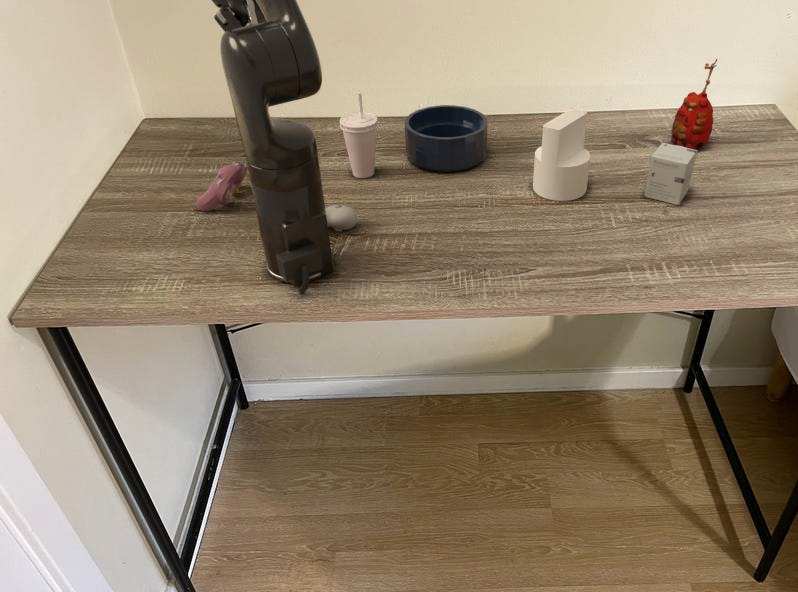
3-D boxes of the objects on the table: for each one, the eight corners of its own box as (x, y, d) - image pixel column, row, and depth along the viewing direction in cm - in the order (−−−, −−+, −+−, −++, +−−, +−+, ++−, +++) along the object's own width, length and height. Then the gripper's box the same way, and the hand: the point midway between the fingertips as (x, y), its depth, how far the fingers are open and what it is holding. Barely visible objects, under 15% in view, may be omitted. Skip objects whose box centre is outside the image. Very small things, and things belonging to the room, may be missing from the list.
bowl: (502, 160, 136) (504, 125, 132) (436, 182, 130) (435, 146, 125) (456, 132, 145) (456, 99, 141) (391, 152, 139) (389, 117, 134)
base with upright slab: (568, 206, 123) (575, 135, 115) (522, 190, 127) (526, 121, 120) (596, 185, 129) (604, 116, 121) (551, 170, 133) (556, 103, 125)
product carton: (643, 197, 125) (650, 155, 121) (654, 182, 130) (661, 141, 125) (679, 206, 123) (688, 163, 119) (689, 190, 127) (698, 148, 123)
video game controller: (219, 223, 122) (229, 189, 118) (192, 209, 122) (202, 175, 117) (244, 194, 130) (255, 161, 125) (220, 180, 129) (230, 147, 124)
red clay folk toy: (661, 138, 143) (675, 57, 133) (692, 132, 145) (708, 51, 135) (687, 155, 137) (703, 71, 128) (718, 147, 140) (736, 64, 130)
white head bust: (360, 228, 120) (354, 235, 116) (309, 226, 121) (302, 233, 116) (359, 200, 119) (354, 207, 114) (308, 198, 119) (301, 205, 114)
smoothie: (380, 181, 130) (373, 101, 121) (342, 181, 130) (333, 100, 121) (383, 165, 135) (377, 86, 126) (347, 164, 135) (339, 85, 126)
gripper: (198, -38, 111) (277, 55, 116) (252, -60, 121) (322, 27, 126) (175, -5, 116) (251, 83, 121) (229, -29, 126) (297, 54, 131)
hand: (287, 54), depth 123 cm, fingers open, 8 cm apart
